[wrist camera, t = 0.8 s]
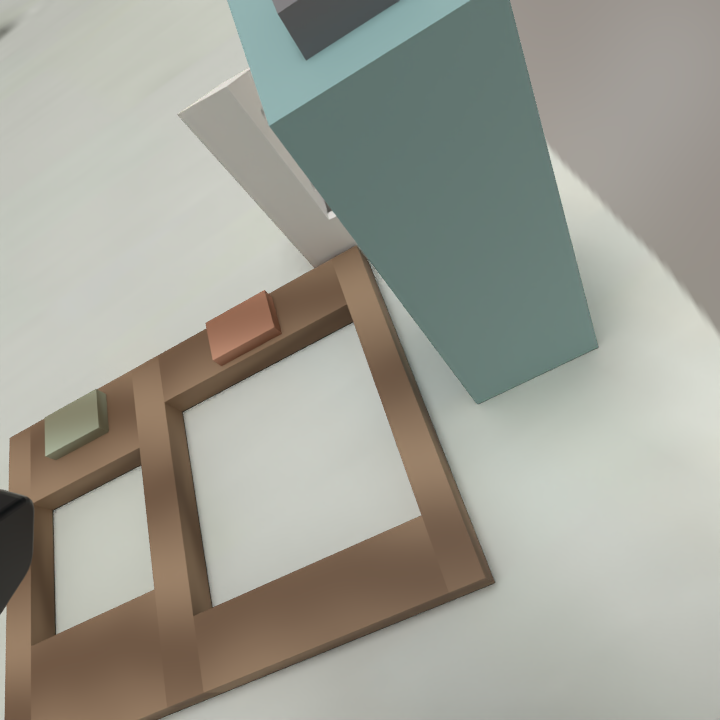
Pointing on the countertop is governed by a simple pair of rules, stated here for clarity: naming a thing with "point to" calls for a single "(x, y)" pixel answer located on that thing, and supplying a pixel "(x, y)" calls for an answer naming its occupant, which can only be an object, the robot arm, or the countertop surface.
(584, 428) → the countertop surface
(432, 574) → the socket board
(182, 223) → the countertop surface
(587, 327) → the teal tall rectangular block
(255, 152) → the white wedge bracket
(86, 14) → the countertop surface
